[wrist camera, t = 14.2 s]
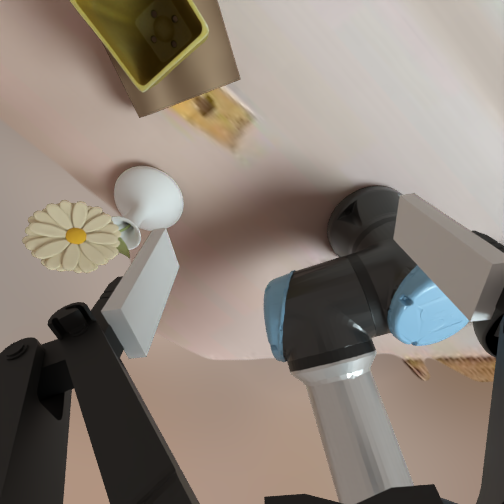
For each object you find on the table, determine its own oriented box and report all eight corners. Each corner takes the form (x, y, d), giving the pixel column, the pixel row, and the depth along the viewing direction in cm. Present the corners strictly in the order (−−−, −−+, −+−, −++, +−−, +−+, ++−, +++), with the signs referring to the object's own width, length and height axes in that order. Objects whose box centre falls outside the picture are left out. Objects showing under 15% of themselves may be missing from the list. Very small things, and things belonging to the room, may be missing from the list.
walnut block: (201, -56, 32) (192, -82, 27) (240, 79, 39) (239, 78, 34) (97, -6, 34) (71, -22, 29) (152, 113, 41) (139, 117, 36)
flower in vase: (198, 206, 49) (161, 303, 27) (150, 236, 52) (82, 344, 30) (147, 139, 43) (48, 196, 21) (96, 178, 46) (-36, 261, 24)
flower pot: (219, 44, 32) (211, 31, 24) (164, 92, 35) (141, 94, 27) (167, -45, 28) (138, -93, 21) (109, 17, 31) (64, -6, 23)
